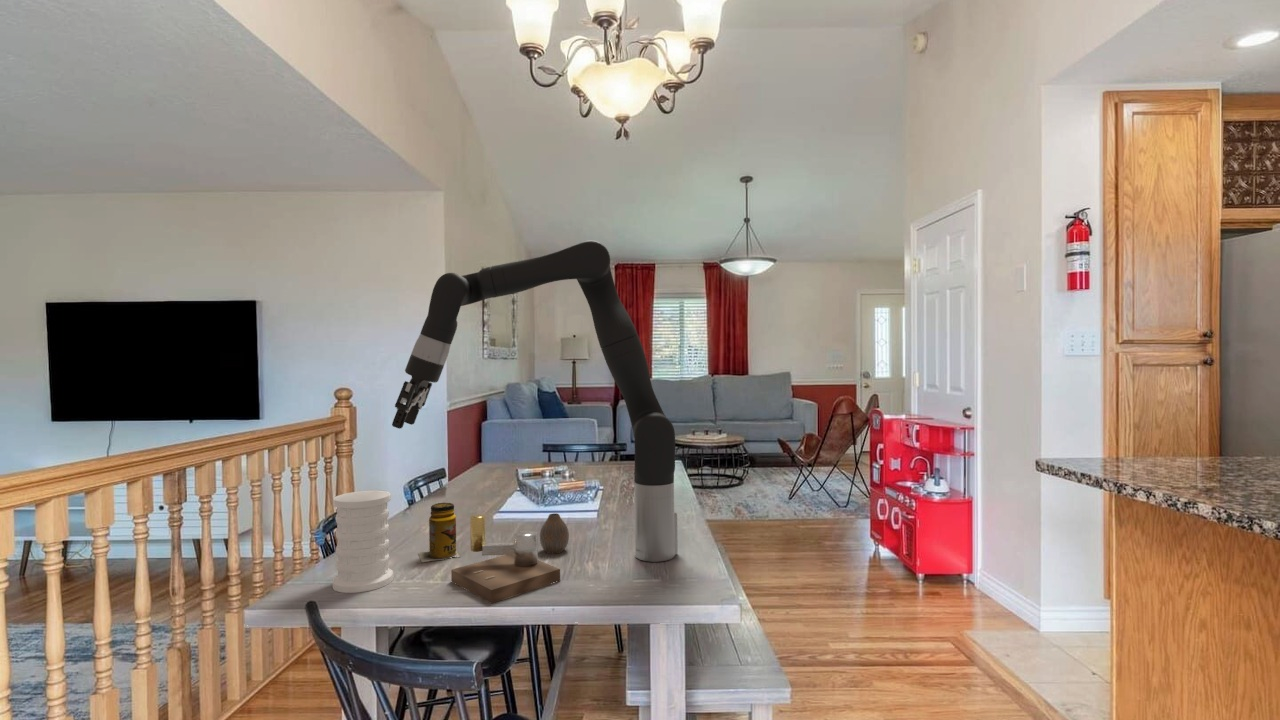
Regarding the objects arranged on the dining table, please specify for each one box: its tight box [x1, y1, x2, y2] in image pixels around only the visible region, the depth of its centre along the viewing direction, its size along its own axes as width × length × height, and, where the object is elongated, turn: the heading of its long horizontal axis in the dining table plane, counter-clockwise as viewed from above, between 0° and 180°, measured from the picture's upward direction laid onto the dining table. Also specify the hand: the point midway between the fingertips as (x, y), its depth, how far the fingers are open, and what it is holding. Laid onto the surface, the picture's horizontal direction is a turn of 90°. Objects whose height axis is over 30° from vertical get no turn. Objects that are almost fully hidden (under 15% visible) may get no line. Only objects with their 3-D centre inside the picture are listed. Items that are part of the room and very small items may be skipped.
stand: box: [450, 555, 561, 604], centre depth 126 cm, size 16×16×3 cm
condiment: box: [418, 502, 461, 563], centre depth 143 cm, size 7×8×12 cm
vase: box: [539, 512, 570, 554], centre depth 145 cm, size 7×7×9 cm
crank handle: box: [469, 514, 539, 566], centre depth 129 cm, size 14×5×10 cm, turn 94°
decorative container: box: [332, 489, 395, 594], centre depth 126 cm, size 12×12×18 cm
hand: (402, 425), depth 137 cm, fingers open, 8 cm apart
